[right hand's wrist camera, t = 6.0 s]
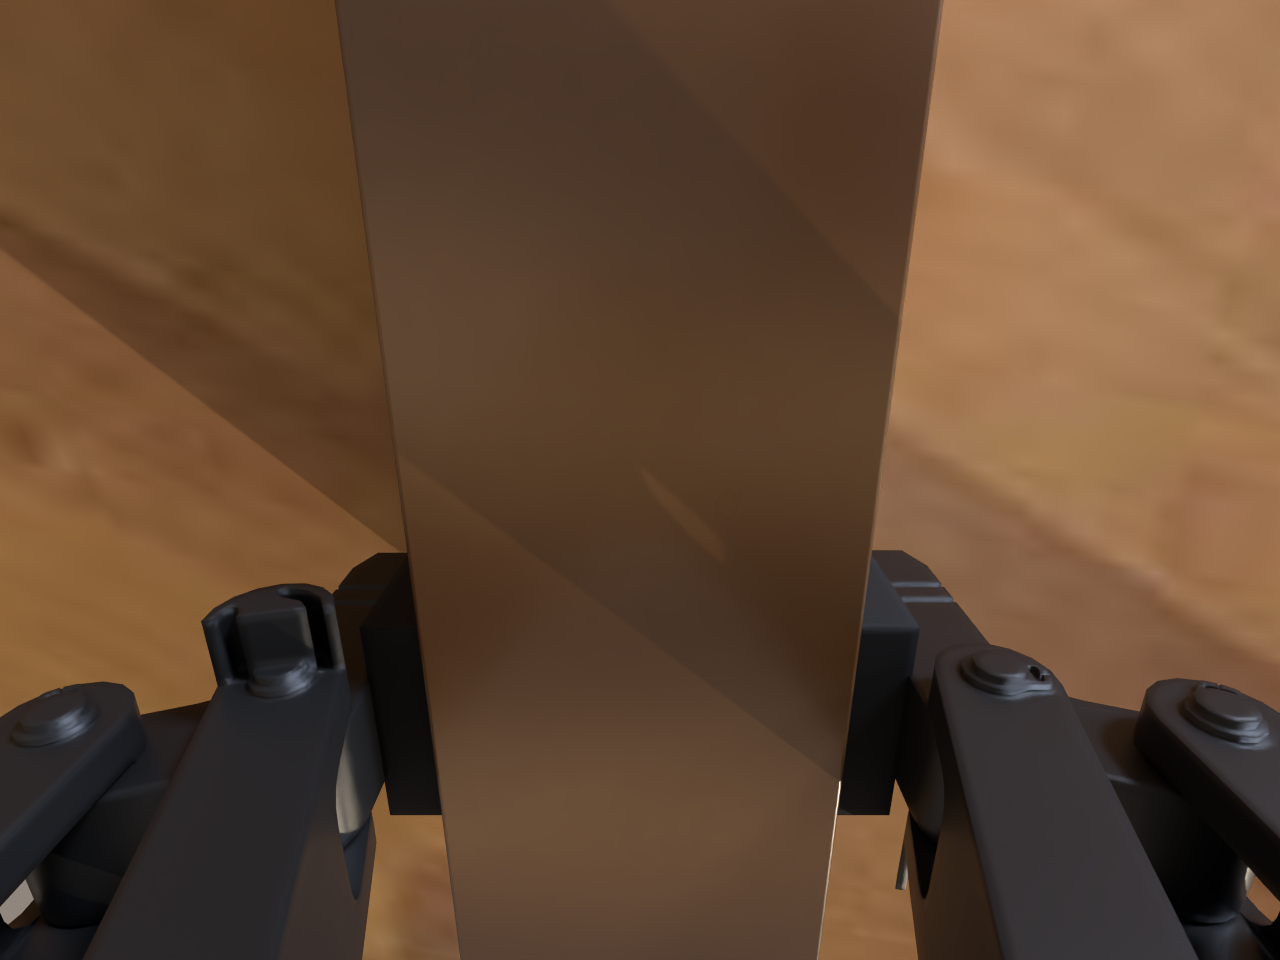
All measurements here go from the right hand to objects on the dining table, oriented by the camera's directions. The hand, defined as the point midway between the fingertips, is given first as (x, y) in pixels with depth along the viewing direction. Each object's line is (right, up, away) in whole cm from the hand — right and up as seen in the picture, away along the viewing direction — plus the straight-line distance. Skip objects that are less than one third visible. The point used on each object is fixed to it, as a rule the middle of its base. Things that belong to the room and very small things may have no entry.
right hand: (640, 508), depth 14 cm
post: (0, +22, -8) cm, 23 cm away
